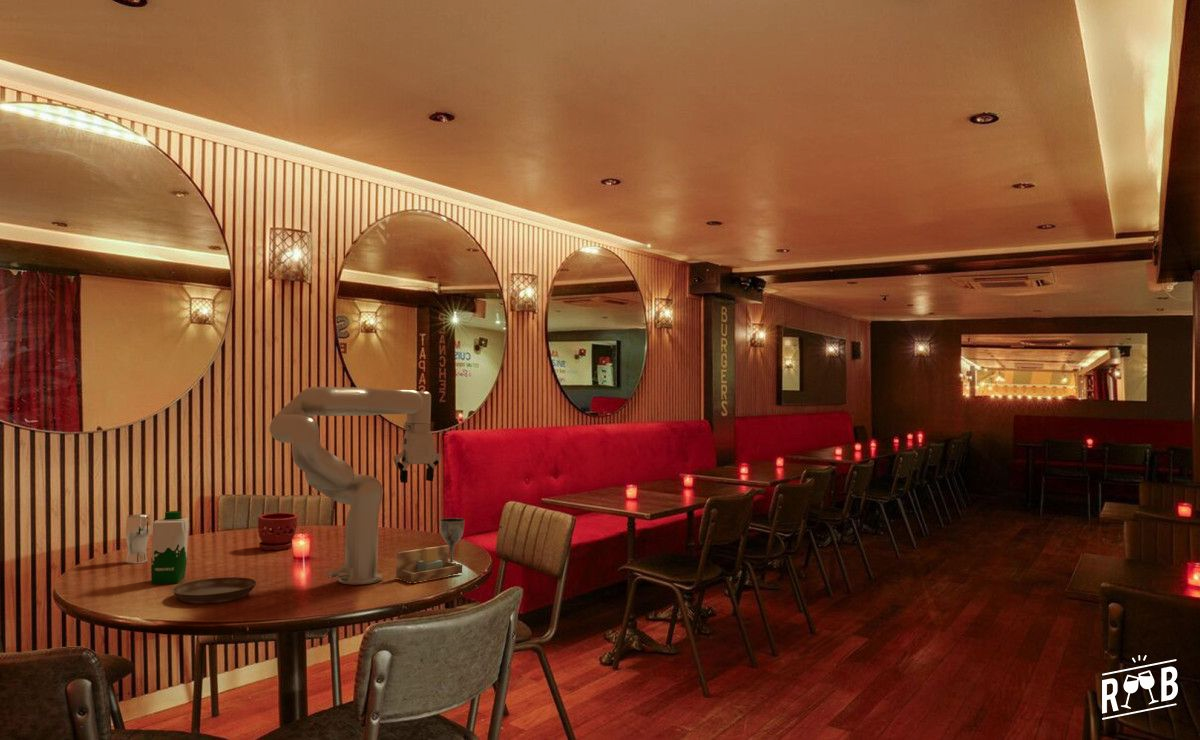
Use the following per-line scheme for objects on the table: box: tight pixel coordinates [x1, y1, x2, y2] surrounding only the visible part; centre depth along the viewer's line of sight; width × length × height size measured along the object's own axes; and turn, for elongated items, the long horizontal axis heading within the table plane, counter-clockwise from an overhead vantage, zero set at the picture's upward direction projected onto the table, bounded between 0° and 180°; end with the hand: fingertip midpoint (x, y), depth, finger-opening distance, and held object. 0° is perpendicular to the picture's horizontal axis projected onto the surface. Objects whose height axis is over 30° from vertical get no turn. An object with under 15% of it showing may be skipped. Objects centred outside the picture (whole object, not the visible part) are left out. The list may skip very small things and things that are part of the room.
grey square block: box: [417, 546, 443, 572], centre depth 233 cm, size 6×5×9 cm
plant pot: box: [257, 512, 298, 551], centre depth 272 cm, size 13×13×12 cm
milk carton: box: [150, 510, 189, 585], centre depth 221 cm, size 9×9×20 cm
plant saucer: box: [171, 576, 258, 605], centre depth 206 cm, size 21×21×3 cm
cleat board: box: [395, 544, 463, 584], centre depth 233 cm, size 18×9×8 cm, turn 136°
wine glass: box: [439, 517, 465, 562], centre depth 250 cm, size 8×8×15 cm
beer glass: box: [125, 513, 152, 565], centre depth 246 cm, size 7×7×15 cm
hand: (416, 481), depth 243 cm, fingers open, 9 cm apart
